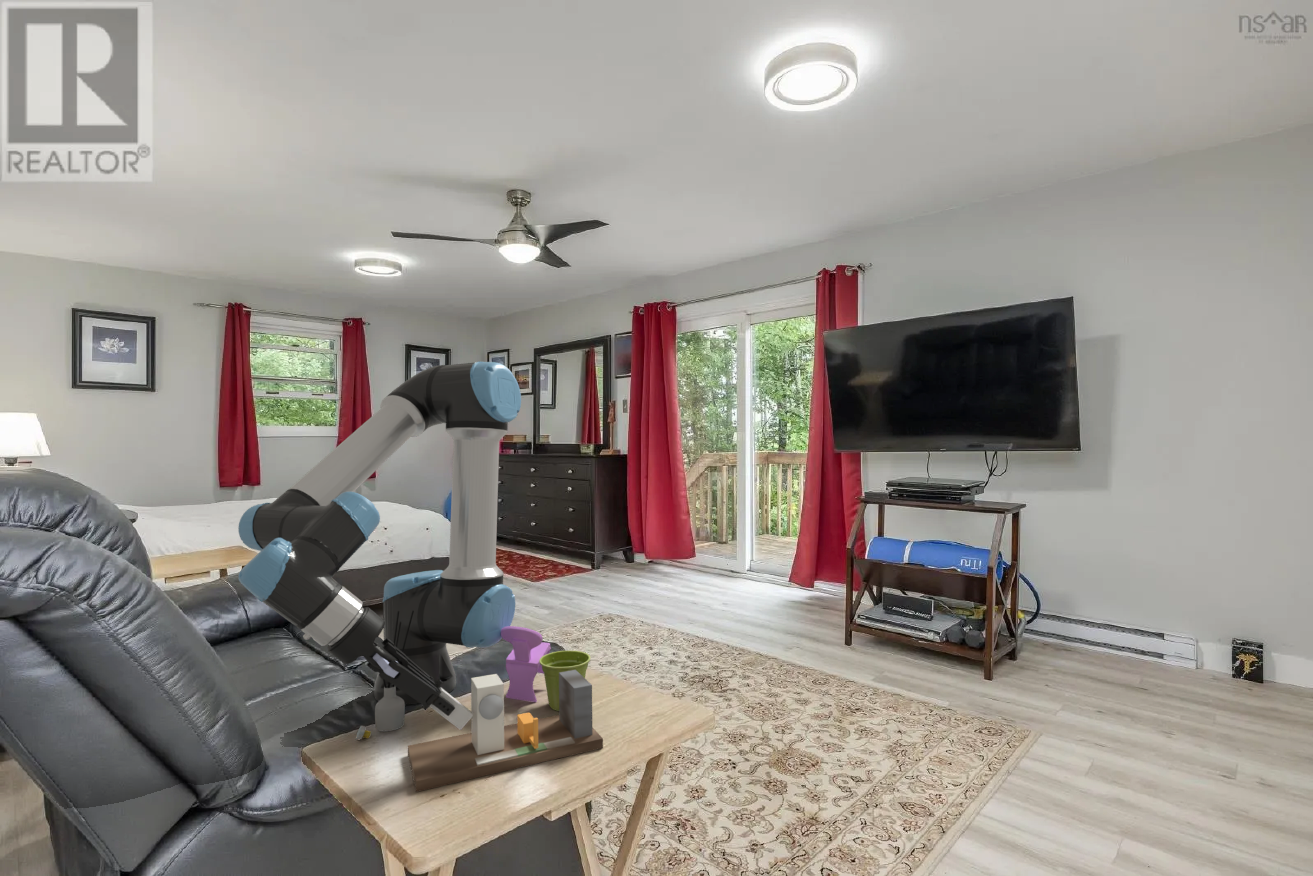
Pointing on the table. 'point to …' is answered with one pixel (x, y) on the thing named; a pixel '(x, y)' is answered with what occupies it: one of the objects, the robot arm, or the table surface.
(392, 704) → the reed diffuser
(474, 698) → the block
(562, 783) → the table surface
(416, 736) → the table surface
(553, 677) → the plant pot
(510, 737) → the gauge board
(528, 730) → the orange l-shaped piece
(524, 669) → the toy chair
